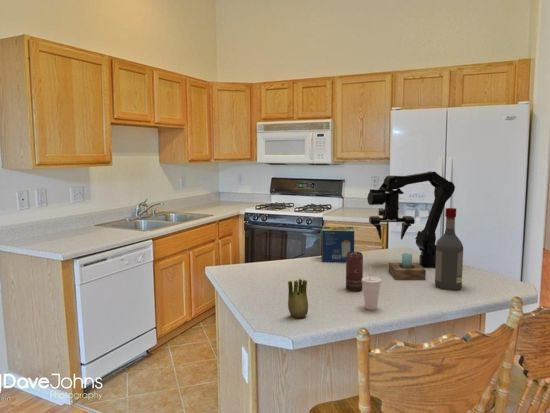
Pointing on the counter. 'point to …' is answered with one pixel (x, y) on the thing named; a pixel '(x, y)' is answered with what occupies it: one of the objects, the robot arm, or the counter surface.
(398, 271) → the socket block
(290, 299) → the fennel bulb
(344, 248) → the protein box
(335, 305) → the counter surface
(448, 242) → the liquor
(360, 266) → the can
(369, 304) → the smoothie
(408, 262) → the pin
